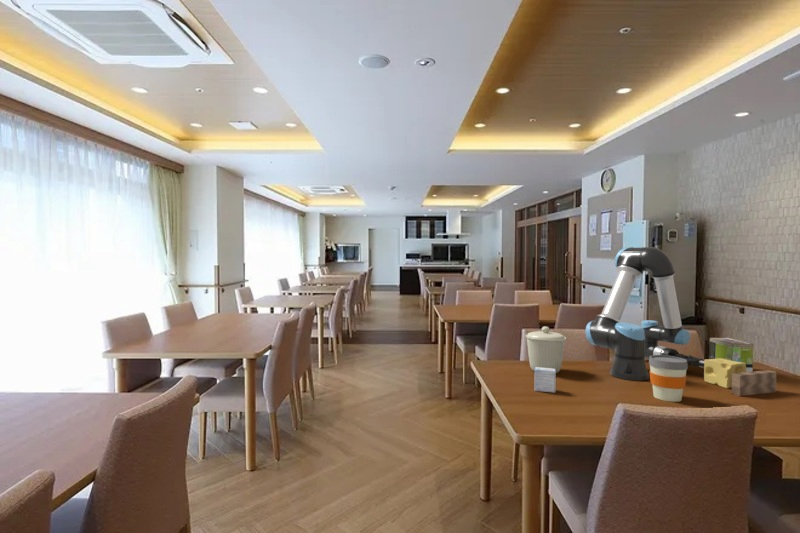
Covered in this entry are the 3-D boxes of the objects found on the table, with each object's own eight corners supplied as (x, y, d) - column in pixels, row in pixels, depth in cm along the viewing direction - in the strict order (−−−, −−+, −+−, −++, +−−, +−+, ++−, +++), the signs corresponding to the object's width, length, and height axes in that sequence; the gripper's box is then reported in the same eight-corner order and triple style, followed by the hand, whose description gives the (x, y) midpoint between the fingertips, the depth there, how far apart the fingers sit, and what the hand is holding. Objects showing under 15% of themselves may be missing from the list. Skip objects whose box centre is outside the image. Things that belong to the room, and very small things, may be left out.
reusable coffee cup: (648, 390, 168) (648, 353, 167) (685, 395, 161) (686, 357, 161) (648, 399, 157) (648, 359, 157) (688, 405, 150) (689, 364, 150)
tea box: (753, 375, 192) (754, 343, 192) (731, 375, 192) (732, 343, 192) (728, 366, 207) (729, 337, 207) (708, 366, 207) (708, 337, 207)
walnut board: (739, 396, 161) (739, 375, 161) (731, 393, 164) (731, 373, 164) (776, 391, 167) (776, 372, 167) (767, 389, 170) (767, 370, 170)
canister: (547, 378, 184) (547, 331, 183) (516, 369, 200) (517, 325, 199) (574, 373, 193) (574, 327, 192) (543, 364, 208) (543, 322, 208)
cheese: (727, 388, 171) (727, 364, 171) (702, 381, 181) (702, 358, 181) (746, 387, 173) (746, 363, 173) (720, 379, 184) (721, 357, 184)
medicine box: (555, 389, 168) (555, 368, 168) (555, 393, 164) (555, 371, 163) (534, 387, 170) (534, 366, 170) (534, 391, 166) (534, 369, 166)
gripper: (676, 361, 208) (725, 374, 185) (656, 363, 204) (703, 376, 181) (676, 346, 208) (726, 357, 185) (656, 348, 204) (704, 359, 181)
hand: (715, 367), depth 183 cm, fingers closed
